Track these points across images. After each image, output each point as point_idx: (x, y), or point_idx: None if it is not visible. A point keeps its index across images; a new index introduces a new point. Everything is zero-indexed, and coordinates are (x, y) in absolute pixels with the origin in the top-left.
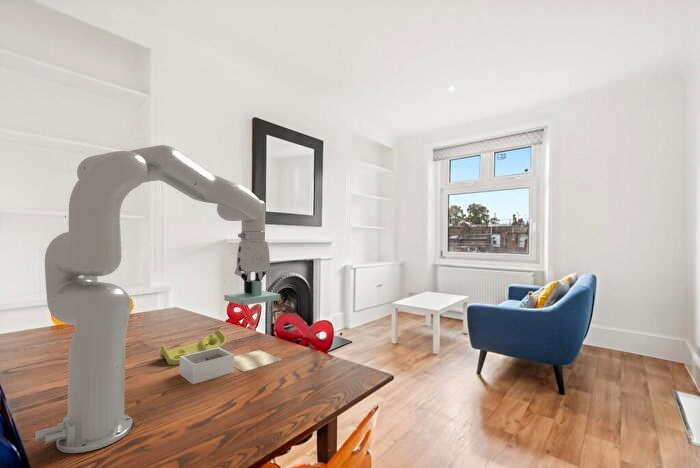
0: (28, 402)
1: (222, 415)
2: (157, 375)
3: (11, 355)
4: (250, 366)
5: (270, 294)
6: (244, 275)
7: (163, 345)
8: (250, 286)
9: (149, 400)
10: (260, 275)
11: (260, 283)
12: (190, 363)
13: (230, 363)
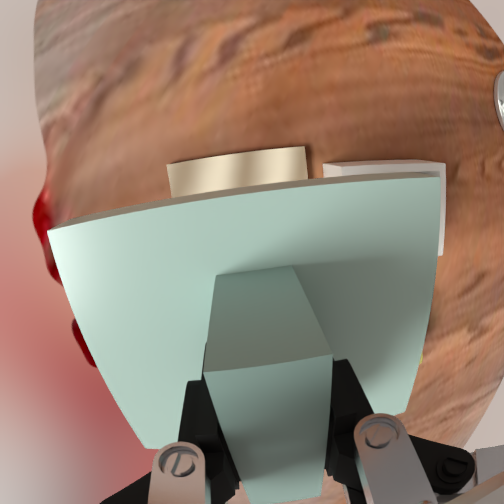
0: None
1: (397, 11)
2: (436, 273)
3: (473, 428)
4: (272, 169)
5: (121, 275)
6: (449, 466)
7: (420, 360)
8: (336, 369)
9: (473, 160)
10: (182, 501)
11: (227, 350)
12: (445, 182)
13: (344, 164)
